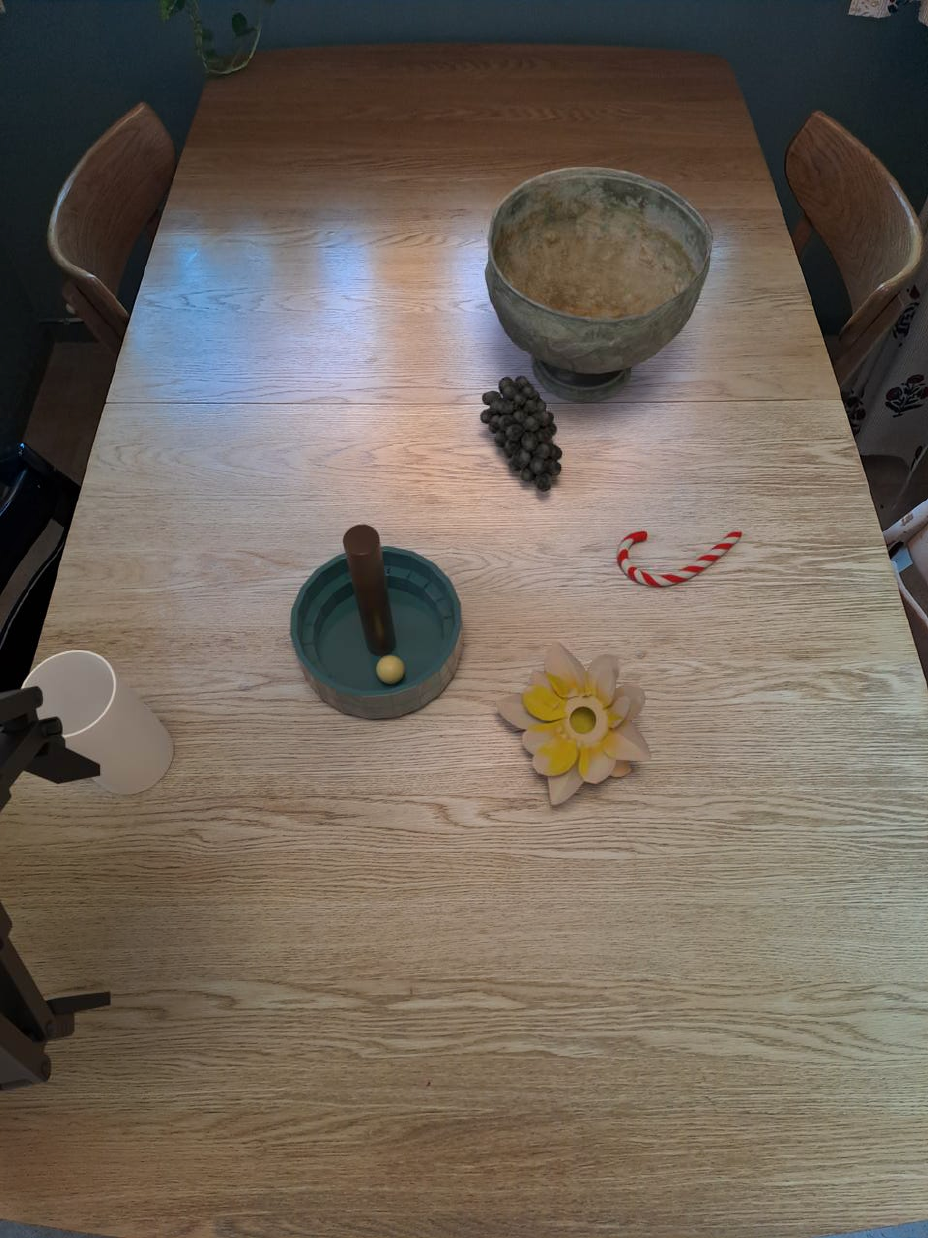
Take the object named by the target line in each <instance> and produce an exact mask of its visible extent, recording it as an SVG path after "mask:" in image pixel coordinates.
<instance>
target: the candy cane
mask: <svg viewBox="0 0 928 1238" xmlns="http://www.w3.org/2000/svg"><path fill="white" fill-rule="evenodd" d="M742 536H743V533H742V530H740V529H739V528H734V529H732V530H731V531H730V532H729V533H728V534H727V535H725V537H723V539H721V540H720V541H719V542H718V543H716V544H715V546H713V547H712V548H711V549H709V550H708V551H707V552H705V553H704V554H703V555H702V556H700V557H699V558H697V559H696V560H694V561H692V563H690V564H689V565H687V566H685V567H683V568H681V569H678V570H677V571H674V572H671V573H667V574H651V573H647V572H645V571H643V570H640V569H639V568H638V567H636V566H635V565H634V564H633V563H632V561H631V559H630V557H629V550H630V548H631V546H632V545H633V544H635V543H637V542H642V541H643V542H644V541H646V540H647V539H648V532H647V531H646V530H639V531H635V532H632V533H630V534H628V535H626V536H625V537H624V538H623V539H622V540H621V542H620V543H619V545H618V548H617V555H616V556H617V557H616V558H617V561H618V564H619V566H620V568H621V570H622V571H623V572H624V573H625V574H626V575H627V576H628V577H629V578H631V579H632V580H633V581H635V582H636V583H638V584H642V585H645V586H649V587H667V586H673V585H676V584H679V583H682V582H684V581H686V580H688V579H690V578H692V577H694V576H696V575H697V574H699V573H700V572H701V571H704V570H705V569H707V567H709V566H710V565H712V564H713V563H714V562H715V561H717V560H718V559H719V558H720V557H722V556H723V555H724V554H725V553H726V552H727V551H729V550H730V549H731V548H732V546H734V545H735V544H736V543H737V542H738V541H739V540H740V539H741V538H742Z"/></svg>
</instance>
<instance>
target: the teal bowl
mask: <svg viewBox="0 0 928 1238" xmlns="http://www.w3.org/2000/svg"><path fill="white" fill-rule="evenodd" d="M381 550H382V556H383V562H384V569H385V575H386V581H387V588H388V594H389V600H390V606H391V613H392V619H393V625H394V631H395V638H396V646H395V648H394V650H393V651H392V652H391V653H389V654H388V655H393V656H397V657H398V658H400V659H401V660H402V662H403V663H404V666H405V673H404V676H403V678H402V679H401V680H400V681H399V682H397V683H394V684H387V683H384V682H382V681H381V680H380V679H379V678H378V676H377V673H376V666H377V664H378V662H379V660H380V659H381V658H383V657H385V656H388V655H385V656H376V655H374V654H372V653H371V652H370V651H369V650H368V648H367V645H366V641H365V637H364V632H363V628H362V624H361V619H360V615H359V611H358V606H357V602H356V597H355V593H354V589H353V584H352V580H351V576H350V571H349V567H348V563H347V558H346V554H345V552H343V553H340V554H338V555H336V556H334V557H333V558H331V559H330V560H328V561H327V562H325V563H324V564H322V565H320V566H318V567H317V568H316V569H315V570H314V571H313V572H312V574H311V575H310V576H309V577H308V578H307V580H305V582H304V583H303V584H302V585H301V587H300V588H299V590H298V593H297V595H296V597H295V600H294V602H293V605H292V606H291V610H290V623H289V626H290V627H289V636H290V638H291V642H292V645H293V648H294V651H295V655H296V658H297V659H298V662H299V664H300V667H301V669H302V672H303V674H304V677H305V680H306V682H308V684H309V685H310V687H311V688H312V689H313V690H314V692H315V693H316V694H317V695H318V696H319V697H320V699H321V700H322V701H324V702H325V703H327V704H329V705H330V706H332V707H334V708H335V709H336V710H338V711H340V712H341V713H344V714H347V715H348V714H349V715H352V716H355V717H360V718H364V719H387V718H398V717H401V716H402V715H405V714H408V713H410V712H413V711H416V710H419V709H421V708H422V707H424V706H425V705H427V704H428V703H429V702H431V701H432V700H433V699H435V698H436V697H437V696H439V695H440V694H441V693H442V692H443V691H444V689H445V688H446V687H447V685H448V683H449V682H450V681H451V680H452V678H453V677H454V676H455V674H456V672H457V668H458V666H459V662H460V658H461V655H462V651H463V622H462V620H463V619H462V605H461V604H462V603H461V600H460V598H459V596H458V593H457V592H456V588H455V586H454V584H453V582H452V580H451V579H450V578H449V577H448V576H447V574H446V573H444V571H442V569H441V568H440V567H439V566H438V565H437V564H436V563H435V562H433V561H431V560H429V559H428V558H426V557H424V556H422V555H420V554H419V553H416V552H415V551H413V550H410V549H409V550H408V549H404V548H398V547H395V546H390V545H381Z"/></svg>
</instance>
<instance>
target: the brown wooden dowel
mask: <svg viewBox="0 0 928 1238" xmlns="http://www.w3.org/2000/svg"><path fill="white" fill-rule="evenodd" d="M342 545H343V550H344V553H345V554H346V558H347V563H348V567H349V571H350V576H351V580H352V584H353V589H354V593H355V597H356V602H357V606H358V611H359V615H360V619H361V624H362V628H363V632H364V637H365V641H366V645H367V648H368V650H369V651H370V652H371V653H372V654H374V655H376V656H385V655H388V654H389V653H391V652H392V651H393V650H394V648H395V646H396V638H395V631H394V625H393V619H392V613H391V606H390V600H389V594H388V588H387V581H386V575H385V569H384V562H383V556H382V550H381V546H382V544H381V538H380V534H379V532H378V531H377V529H375V528H374V527H372V526H371V525H369V524H368V525H367V524H356V525H353V526H351V527H349V528H348V529H347V530H346V531H345V533H344V534H343V538H342Z"/></svg>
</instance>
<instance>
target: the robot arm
mask: <svg viewBox="0 0 928 1238" xmlns="http://www.w3.org/2000/svg"><path fill="white" fill-rule="evenodd" d="M42 704H43V694H42V691H41V689H40V688H39V687H38V686H33V687H28V688H23V689H21V688H18V689H12V690H7V691H3V692H2V691H1V692H0V725H2V726H0V813H1V812H2V811H3V810H4V808H5V807H6V806H7V804H8V803H9V801H10V800H11V799H12V796H13V795H12V793H11V790H10V789H11V787H12V786H13V785H14V784H15V782H16V781H17V780H18V778H19V777H20V776H21V775H22V773H23V772H26V773H28V774H31V775H33V776H36V777H38V778H41V779H44V780H46V781H48V782H51V783H54V784H57V785H62V784H65V783H72V782H76V781H80V780H81V781H82V780H86V779H91V777H97V776H101V774H100V764H99V763H97V762H94V761H92V760H90V759H88V758H86V757H84V756H82V755H80V754H78V753H76V752H74V751H72V750H70V749H68V748H66V742H65V739H64V737H63V736H62V733H63V726H62V722H61V720H60V718H59V717H57V716H55V717H50V718H45V719H40V720H39V719H38V716H37V711H36V708H39V707H41V706H42ZM13 925H14V924H13V921H12V919H11V917H10V916H9V914H8V912H7V910H6V909H5V906H4V905H3V903H2V901H1V900H0V1093H4V1092H8V1091H12V1090H17V1089H21V1088H27V1087H31V1086H35V1085H40V1084H44V1083H47V1082H48V1081H49V1080H50V1078H51V1075H52V1068H53V1067H52V1060H51V1057H50V1056H49V1055H48V1053H46V1052H45V1049H46V1046H47V1044H48V1043H49V1042H50V1041H53V1040H58V1039H62V1038H67V1037H71V1036H72V1035H73V1034H74V1033H75V1032H76V1020H75V1019H76V1018H75V1014H76V1013H80V1012H81V1013H82V1012H86V1011H91V1010H95V1009H99V1008H103V1007H109V1006H111V1005H112V1001H111V1000H112V997H111V990H109V991H101V992H93V993H85V994H77V995H70V996H69V995H68V996H61V997H54V998H51V999H45V998H44V996H43V994H42V993H41V991H40V989H39V987H38V986H37V983H36V982H35V981H34V979H33V976H32V975H31V974H30V972H29V970H28V968H27V966H26V964H25V963H24V961H23V959H22V957H21V956H20V954H19V953H18V950H17V949H16V947H15V945H14V944H13V942H12V940H11V939H10V937H9V935H10V933H11V931H12V929H13Z"/></svg>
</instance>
